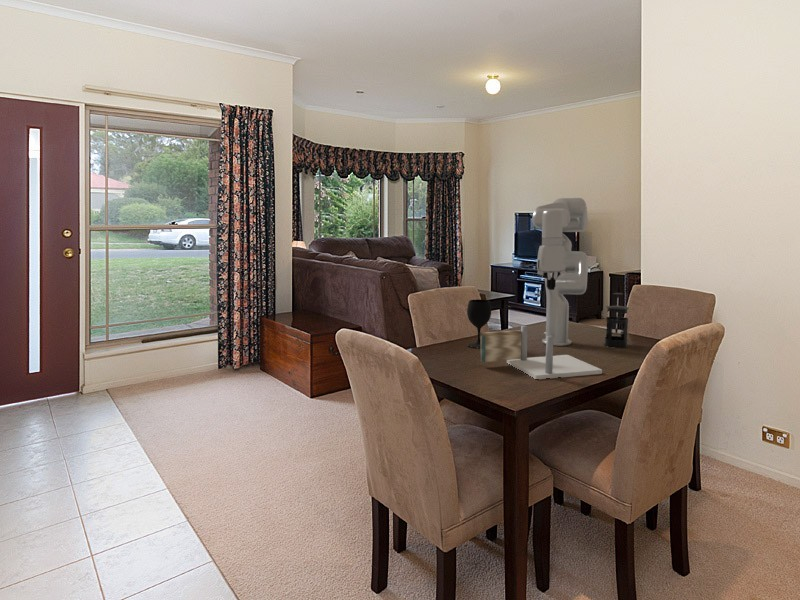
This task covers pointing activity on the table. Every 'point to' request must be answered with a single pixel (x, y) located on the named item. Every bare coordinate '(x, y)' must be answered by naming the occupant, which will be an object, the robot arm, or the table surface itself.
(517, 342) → the beige wavy patterned slab
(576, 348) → the table surface
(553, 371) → the white base with posts
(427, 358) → the table surface
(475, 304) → the wine glass
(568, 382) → the table surface
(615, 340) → the french press
